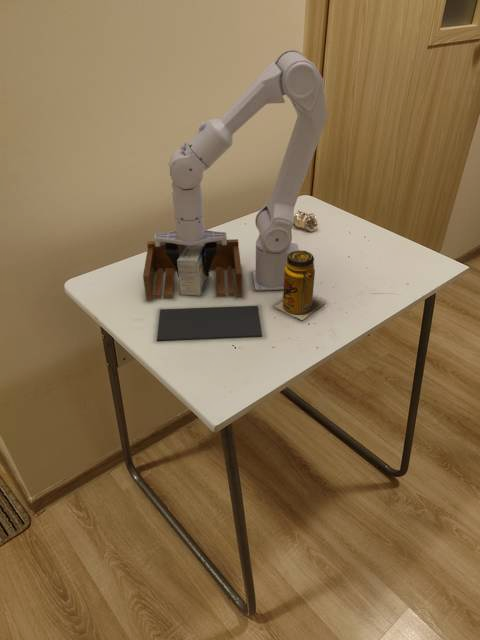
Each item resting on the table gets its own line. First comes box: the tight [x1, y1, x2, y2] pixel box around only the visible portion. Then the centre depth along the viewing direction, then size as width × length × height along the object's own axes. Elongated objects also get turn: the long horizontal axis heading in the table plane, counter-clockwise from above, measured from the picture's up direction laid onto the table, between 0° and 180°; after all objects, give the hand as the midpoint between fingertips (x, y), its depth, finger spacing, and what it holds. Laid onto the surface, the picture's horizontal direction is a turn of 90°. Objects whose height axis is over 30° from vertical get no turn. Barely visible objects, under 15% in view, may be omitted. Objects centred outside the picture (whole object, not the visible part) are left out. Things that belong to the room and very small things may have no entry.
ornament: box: [293, 209, 319, 232], centre depth 132 cm, size 8×7×4 cm
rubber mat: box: [156, 305, 263, 342], centre depth 99 cm, size 20×10×1 cm, turn 96°
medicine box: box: [177, 244, 209, 297], centre depth 107 cm, size 8×4×9 cm, turn 173°
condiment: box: [274, 249, 327, 321], centre depth 101 cm, size 7×8×12 cm
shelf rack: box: [142, 238, 243, 302], centre depth 108 cm, size 20×13×7 cm, turn 96°
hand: (193, 274), depth 107 cm, fingers closed on medicine box, 5 cm apart
